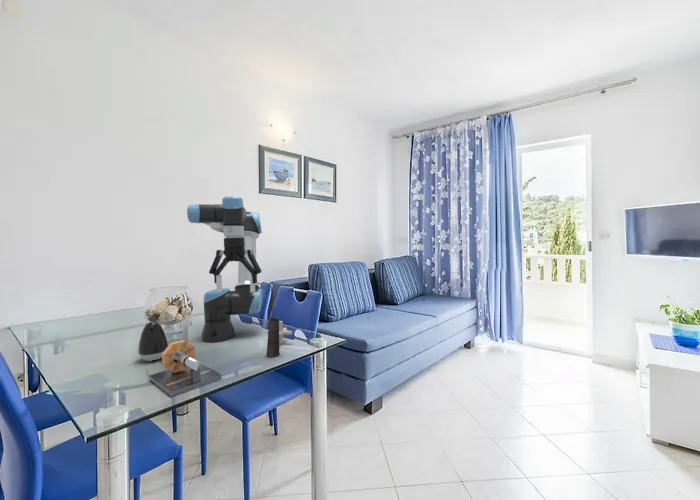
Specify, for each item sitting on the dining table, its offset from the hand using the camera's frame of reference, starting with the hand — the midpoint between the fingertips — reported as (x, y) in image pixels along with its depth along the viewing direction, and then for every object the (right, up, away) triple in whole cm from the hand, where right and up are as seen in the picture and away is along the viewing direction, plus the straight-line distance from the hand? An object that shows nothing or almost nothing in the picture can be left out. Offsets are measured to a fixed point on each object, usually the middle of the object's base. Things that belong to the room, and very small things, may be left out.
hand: (236, 291), depth 125 cm
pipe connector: (+13, -26, +20) cm, 35 cm away
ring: (-15, -26, -12) cm, 32 cm away
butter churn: (+14, -27, +5) cm, 30 cm away
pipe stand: (-12, -28, -15) cm, 34 cm away
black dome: (-34, -28, +4) cm, 44 cm away
